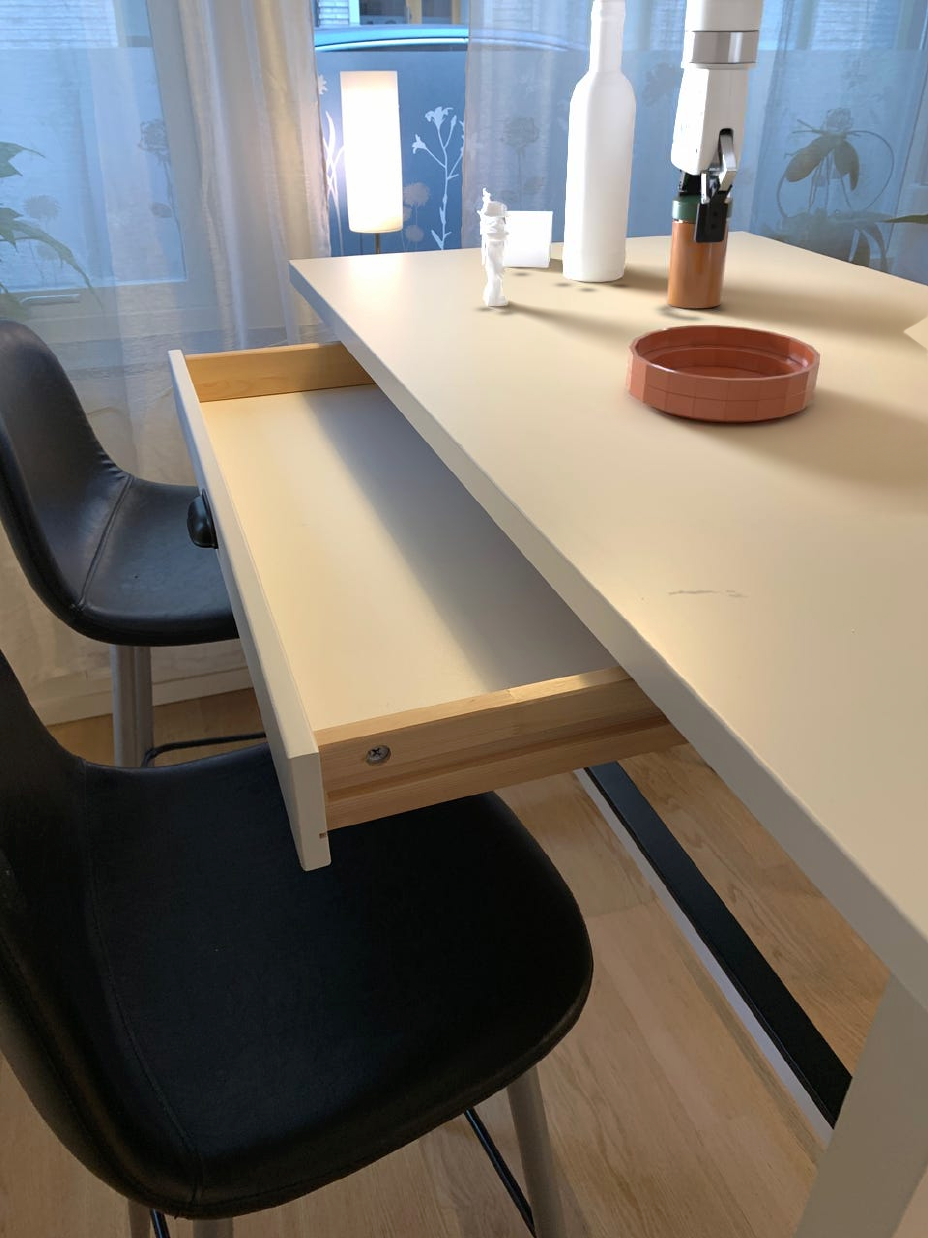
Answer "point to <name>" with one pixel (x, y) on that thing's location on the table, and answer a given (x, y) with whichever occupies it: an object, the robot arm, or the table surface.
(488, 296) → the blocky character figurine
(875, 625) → the table surface
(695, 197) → the lid
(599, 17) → the bottle
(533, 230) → the white cube
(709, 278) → the jar
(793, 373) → the bowl
